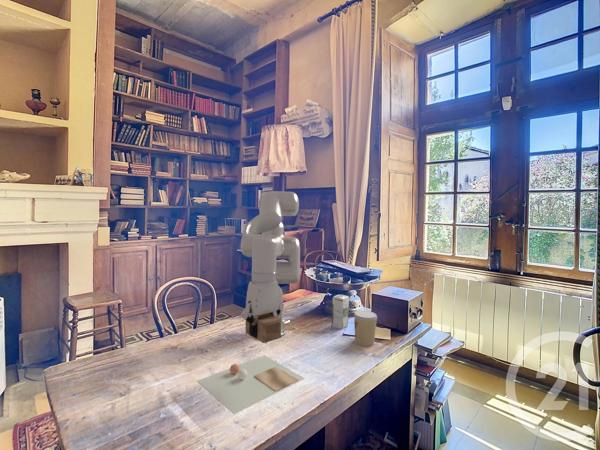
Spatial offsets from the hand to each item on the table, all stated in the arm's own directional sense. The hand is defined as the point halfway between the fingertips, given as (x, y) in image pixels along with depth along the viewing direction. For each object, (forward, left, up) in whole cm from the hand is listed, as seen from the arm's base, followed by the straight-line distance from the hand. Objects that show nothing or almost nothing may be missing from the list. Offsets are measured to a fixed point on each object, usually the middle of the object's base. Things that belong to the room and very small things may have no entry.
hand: (262, 333), depth 99 cm
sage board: (+3, -1, -16) cm, 16 cm away
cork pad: (-3, +3, -14) cm, 15 cm away
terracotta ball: (+5, -8, -14) cm, 17 cm away
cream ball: (+5, -3, -14) cm, 16 cm away
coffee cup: (-50, +4, -16) cm, 53 cm away
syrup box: (-56, -14, -16) cm, 60 cm away
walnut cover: (0, 0, -1) cm, 1 cm away
